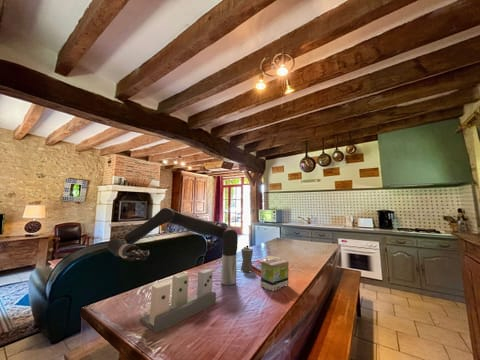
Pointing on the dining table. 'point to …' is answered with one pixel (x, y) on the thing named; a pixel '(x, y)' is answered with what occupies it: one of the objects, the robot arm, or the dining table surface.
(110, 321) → the dining table surface
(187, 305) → the tile stand
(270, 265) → the tea box
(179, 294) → the tile two
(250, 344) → the dining table surface
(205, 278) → the tile three
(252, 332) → the dining table surface
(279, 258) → the candle holder
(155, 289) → the tile one
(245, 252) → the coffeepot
